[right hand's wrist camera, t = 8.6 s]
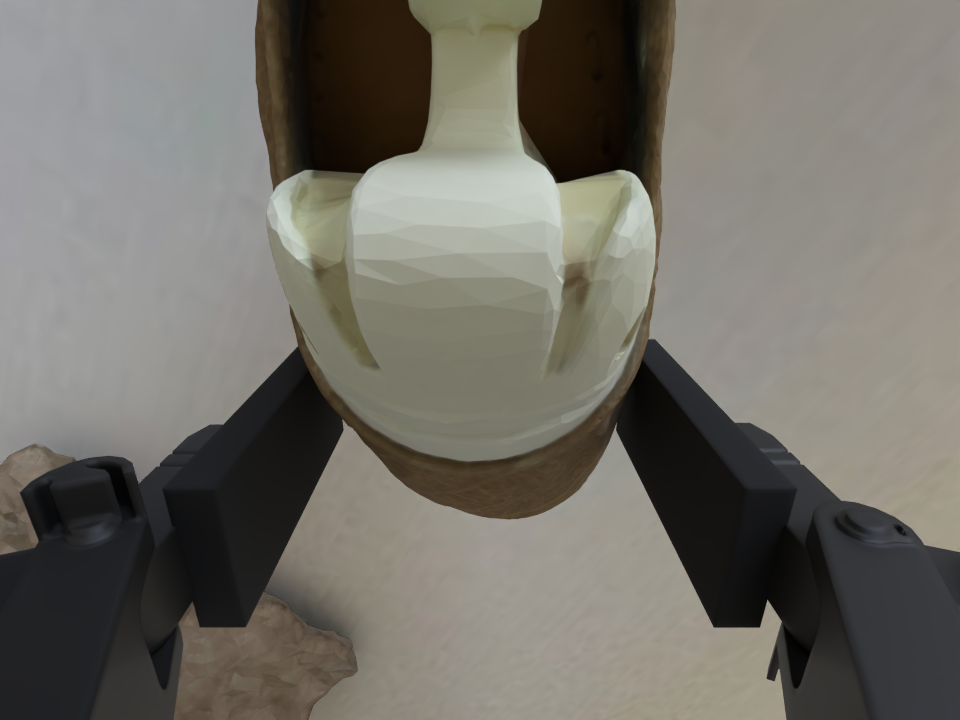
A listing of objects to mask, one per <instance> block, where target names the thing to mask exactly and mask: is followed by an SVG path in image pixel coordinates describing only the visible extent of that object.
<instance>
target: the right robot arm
mask: <svg viewBox="0 0 960 720" xmlns="http://www.w3.org/2000/svg"><path fill="white" fill-rule="evenodd" d="M616 431H617V433H618V435H619V437H620V439H621V441H622V443H623V445H624V447H625V449H626V451H627V453H628V455H629V457H630V459H631V461H632V463H633V465H634V467H635V469H636V471H637V473H638V475H639V477H640V479H641V481H642V483H643V485H644V487H645V490H646V492H647V494H648V496H649V498H650V500H651V502H652V504H653V506H654V508H655V510H656V512H657V514H658V516H659V518H660V520H661V522H662V524H663V526H664V528H665V530H666V532H667V534H668V536H669V538H670V540H671V542H672V544H673V546H674V548H675V550H676V552H677V554H678V556H679V558H680V560H681V562H682V564H683V566H684V568H685V570H686V572H687V574H688V576H689V578H690V580H691V582H692V584H693V586H694V588H695V590H696V592H697V594H698V596H699V598H700V600H701V602H702V604H703V606H704V608H705V610H706V613H707V615H708V617H709V619H710V621H711V623H712V625H713V627H760V625H761V622H762V618H763V614H764V610H765V607H766V603H767V599H768V601H769V602H770V604H771V605H772V607H773V608H774V610H775V611H776V613H777V615H778V616H779V618H780V619H781V621H782V623H781V626H780V630H779V633H778V637H777V640H776V643H775V647H774V650H773V654H772V657H771V661H770V664H769V668H768V674H767V679H769V680H772V681H775V678H776V674H777V671H778V669H780V673H781V681H782V688H783V696H784V703H785V711H786V718H787V720H960V552H956V551H951V550H946V549H941V548H935V547H930V546H925V545H924V544H923V542H922V541H921V539H920V538H919V537H918V536H917V535H916V534H915V532H914V531H913V530H912V529H911V528H910V527H908V526H907V525H905V524H904V523H902V522H901V521H900V520H898V519H897V518H895V517H893V516H891V515H889V514H887V513H885V512H882V511H880V510H878V509H876V508H873V507H869V506H866V505H862V504H859V503H855V502H847V501H841V500H840V499H839V498H838V497H837V496H835V495H834V494H833V493H832V492H831V491H830V490H829V489H828V488H827V487H826V486H825V485H824V484H823V483H822V482H821V481H820V480H819V479H818V478H817V477H816V476H815V475H813V474H812V473H811V472H810V471H809V470H808V469H807V468H806V467H805V466H804V465H800V461H799V460H798V459H797V458H796V457H795V456H794V455H793V454H791V453H788V451H787V449H786V448H785V447H784V446H783V445H782V444H781V443H780V442H779V441H778V440H777V439H776V438H775V437H774V436H773V435H771V434H769V433H767V432H765V431H764V430H762V429H760V428H758V427H756V426H754V425H753V424H751V423H734V422H733V421H732V420H731V419H730V418H729V417H728V416H727V414H726V413H725V412H724V411H723V410H722V409H721V408H720V407H719V406H718V405H717V404H716V403H715V402H714V401H713V400H712V399H711V398H710V397H709V396H708V395H707V394H706V392H705V391H704V390H703V389H702V388H701V387H700V386H699V385H698V384H697V383H696V382H695V381H694V380H693V379H692V378H691V377H690V376H689V375H688V374H687V373H686V371H685V370H684V369H683V368H682V367H681V366H680V365H679V364H678V363H677V362H676V361H675V360H674V359H673V358H672V357H671V356H670V355H669V354H668V353H667V352H666V351H665V349H664V348H663V347H662V346H661V345H660V344H659V343H658V342H657V341H656V340H655V339H648V341H647V344H646V347H645V351H644V354H643V357H642V360H641V364H640V367H639V369H638V371H637V373H636V376H635V378H634V380H633V382H632V383H631V385H630V387H629V389H628V393H627V396H626V399H625V402H624V405H623V407H622V410H621V413H620V415H619V418H618V420H617V427H616ZM342 432H343V421H342V418H341V417H340V415H339V414H338V413H337V412H336V411H335V410H334V409H333V407H332V406H331V405H330V404H329V402H328V401H327V400H326V399H325V397H324V396H323V395H322V393H321V392H320V390H319V388H318V386H317V384H316V383H315V381H314V379H313V377H312V375H311V373H310V371H309V369H308V367H307V365H306V363H305V361H304V358H303V356H302V354H301V351H300V349H299V346H298V347H297V348H296V349H295V350H294V351H293V352H292V353H291V354H290V355H289V356H288V358H287V359H286V360H285V361H284V362H283V363H282V364H281V365H280V366H279V367H278V368H277V369H276V370H275V371H274V372H273V373H272V374H271V375H270V376H269V377H268V378H267V380H266V381H265V382H264V383H263V384H262V385H261V386H260V387H259V388H258V389H257V390H256V391H255V392H254V393H253V394H252V395H251V396H250V397H249V398H248V399H247V400H246V402H245V403H244V404H243V405H242V406H241V407H240V408H239V409H238V410H237V411H236V412H235V413H234V414H233V415H232V416H231V417H230V418H229V419H228V420H227V421H226V422H225V424H224V425H209V426H207V427H205V428H203V429H202V430H200V431H198V432H196V433H194V434H192V435H191V436H189V437H187V438H186V439H185V440H184V441H183V442H182V443H181V444H180V445H179V446H178V447H177V448H176V449H175V450H174V451H173V454H170V455H168V456H167V457H166V458H165V459H164V460H163V461H162V462H161V463H160V467H156V468H155V469H154V470H153V471H152V472H151V473H150V474H149V475H148V476H147V477H146V478H145V479H144V480H143V481H141V482H140V483H139V484H138V481H137V478H136V474H135V471H134V467H133V464H132V463H131V462H130V461H128V460H127V459H125V458H122V457H114V456H104V457H94V458H88V459H84V460H80V461H76V462H72V463H68V464H66V465H63V466H61V467H58V468H56V469H53V470H50V471H48V472H46V473H45V474H43V475H41V476H40V477H38V478H36V479H34V480H33V481H31V482H30V483H29V484H28V485H27V486H26V487H25V488H24V489H23V490H22V491H21V492H20V495H21V497H22V500H23V502H24V505H25V508H26V510H27V513H28V515H29V518H30V520H31V523H32V525H33V528H34V530H35V533H36V535H37V538H38V541H39V542H38V543H37V545H36V547H35V548H32V549H27V550H22V551H17V552H12V553H7V554H2V555H0V720H174V713H175V705H176V698H177V690H178V683H179V675H180V668H181V660H182V653H183V639H182V633H181V630H180V626H179V621H180V620H181V618H182V617H183V615H184V614H185V612H186V611H187V609H188V607H189V606H190V604H191V603H192V601H193V605H194V608H195V612H196V616H197V619H198V623H199V627H200V628H246V626H247V624H248V622H249V620H250V618H251V616H252V614H253V612H254V610H255V608H256V606H257V604H258V602H259V600H260V598H261V596H262V594H263V592H264V590H265V588H266V586H267V584H268V582H269V580H270V578H271V576H272V574H273V571H274V569H275V567H276V565H277V563H278V561H279V559H280V557H281V555H282V553H283V551H284V549H285V547H286V545H287V543H288V541H289V539H290V537H291V535H292V533H293V531H294V529H295V527H296V525H297V523H298V521H299V519H300V517H301V515H302V513H303V511H304V509H305V507H306V505H307V503H308V501H309V499H310V497H311V495H312V493H313V491H314V489H315V487H316V485H317V483H318V481H319V479H320V477H321V475H322V473H323V471H324V469H325V467H326V465H327V463H328V461H329V459H330V457H331V455H332V453H333V451H334V449H335V447H336V445H337V442H338V440H339V438H340V436H341V434H342Z"/></svg>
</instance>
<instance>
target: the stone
mask: <svg viewBox="0 0 960 720" xmlns="http://www.w3.org/2000/svg"><path fill="white" fill-rule="evenodd" d="M72 462H76V459H75V458H74V457H67V456H63V455H59V454H56V453H54V452H52V451H51V450H50V449H48V448H47V447H45V446H41V445H37V444H32V445H30V446H28V447H26V448H24V449H22V450H20V451H17V452H15V453H13V454H11V455H9V456H8V457H7V459H6V460H5V461H4V462H3V463H2V464H1V465H0V555H2V554H7V553H12V552H17V551H22V550H27V549H32V548H35V547H36V545H37V543H38V542H39V541H38V538H37V535H36V533H35V530H34V528H33V525H32V523H31V520H30V518H29V515H28V513H27V510H26V508H25V505H24V502H23V500H22V497H21V495H20V492H21V491H22V490H23V489H24V488H25V487H26V486H27V485H28V484H29V483H30V482H31V481H33V480H34V479H36V478H38V477H40V476H41V475H43V474H45V473H46V472H48V471H50V470H53V469H56V468H58V467H61V466H63V465H66V464H68V463H72ZM179 626H180V630H181V633H182V639H183V653H182V660H181V668H180V675H179V683H178V690H177V698H176V705H175V713H174V720H308V719H309V716H310V713H311V710H312V707H313V705H314V704H315V703H316V702H317V701H318V700H319V699H321V698H322V697H323V696H324V695H325V694H326V693H327V692H328V691H329V690H330V689H331V688H332V687H333V686H334V685H335V684H336V683H338V682H339V681H340V680H341V679H343V678H346V677H350V676H353V675H354V674H355V673H356V672H357V671H358V669H357V662H356V657H355V654H354V651H353V647H352V641H351V640H349V639H348V638H346V637H343V636H340V635H337V634H336V633H335V632H334V631H333V630H320V629H318V628H315V627H312V626H309V625H307V624H306V623H305V622H304V621H303V620H302V619H301V618H300V617H299V616H298V615H296V614H294V613H293V612H292V610H291V609H290V607H289V605H288V604H286V603H284V602H283V601H282V600H280V599H279V598H277V597H275V596H270V595H268V594H267V593H266V592H263V594H262V596H261V598H260V600H259V602H258V604H257V606H256V608H255V610H254V612H253V614H252V616H251V618H250V620H249V622H248V624H247V626H246V628H200V627H199V623H198V619H197V616H196V612H195V608H194V605H193V601H192V603H191V604H190V606H189V607H188V609H187V611H186V612H185V614H184V615H183V617H182V618H181V620H180V621H179Z"/></svg>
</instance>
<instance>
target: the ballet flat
mask: <svg viewBox="0 0 960 720" xmlns="http://www.w3.org/2000/svg"><path fill="white" fill-rule="evenodd" d="M675 19H676V7H675V0H258V9H257V21H256V27H255V51H256V84H257V89H258V105H259V113H260V119H261V123H262V128H263V132H264V136H265V140H266V143H267V148H268V153H269V161H270V173H271V179H272V184H273V194H272V195H271V197H270V200H269V204H268V208H267V212H266V218H267V230H268V236H269V242H270V246H271V250H272V254H273V258H274V262H275V266H276V269H277V272H278V275H279V278H280V281H281V283H282V286H283V289H284V292H285V295H286V297H287V299H288V301H289V305H290V314H291V318H292V322H293V325H294V329H295V333H296V337H297V342H298V346H299V349H300V351H301V354H302V356H303V358H304V361H305V363H306V365H307V367H308V369H309V371H310V373H311V375H312V377H313V379H314V381H315V383H316V384H317V386H318V388H319V390H320V392H321V393H322V395H323V396H324V397H325V399H326V400H327V401H328V402H329V404H330V405H331V406H332V407H333V409H334V410H335V411H336V412H337V413H338V414H339V415H340V417H341V418H342V419H343V420H344V421H345V422H346V424H347V425H348V426H350V427H352V428H353V429H354V430H355V431H356V432H357V434H358V435H359V436H360V438H361V439H362V441H363V442H364V443H365V444H366V445H367V446H368V447H369V448H370V449H371V450H372V451H373V452H374V453H375V454H376V455H377V456H378V457H379V458H380V460H381V461H382V462H383V463H384V464H385V466H386V467H387V468H388V469H389V470H390V472H391V473H392V474H393V475H394V476H395V477H396V478H398V479H399V480H400V481H401V482H403V483H404V484H405V485H406V486H407V487H408V488H410V489H412V490H413V491H415V492H416V493H418V494H420V495H422V496H424V497H426V498H427V499H429V500H431V501H433V502H435V503H438V504H441V505H444V506H450V507H453V508H456V509H458V510H461V511H464V512H466V513H469V514H473V515H478V516H482V517H487V518H499V519H519V518H526V517H530V516H534V515H538V514H541V513H543V512H545V511H548V510H550V509H551V508H553V507H555V506H557V505H558V504H560V503H562V502H563V501H565V500H566V499H568V498H569V497H570V496H572V495H573V494H574V493H575V492H576V491H578V490H579V489H580V487H581V486H582V485H583V484H584V483H585V481H586V480H587V478H588V476H589V475H590V474H591V473H592V471H593V470H594V468H595V467H596V465H597V463H598V462H599V460H600V458H601V457H602V455H603V453H604V451H605V449H606V447H607V445H608V443H609V441H610V438H611V436H612V433H613V431H614V428H615V426H616V423H617V420H618V418H619V415H620V413H621V410H622V407H623V405H624V402H625V399H626V396H627V393H628V389H629V387H630V385H631V383H632V382H633V380H634V378H635V376H636V373H637V371H638V369H639V367H640V364H641V360H642V357H643V354H644V351H645V347H646V344H647V341H648V338H649V323H650V319H651V315H652V309H653V301H654V295H655V281H654V280H655V277H656V273H657V270H658V263H657V259H658V255H659V244H660V236H661V231H662V202H661V190H660V185H661V148H662V138H663V132H664V124H665V113H666V103H667V93H668V89H669V85H670V77H671V68H672V58H673V51H674V27H675Z"/></svg>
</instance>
